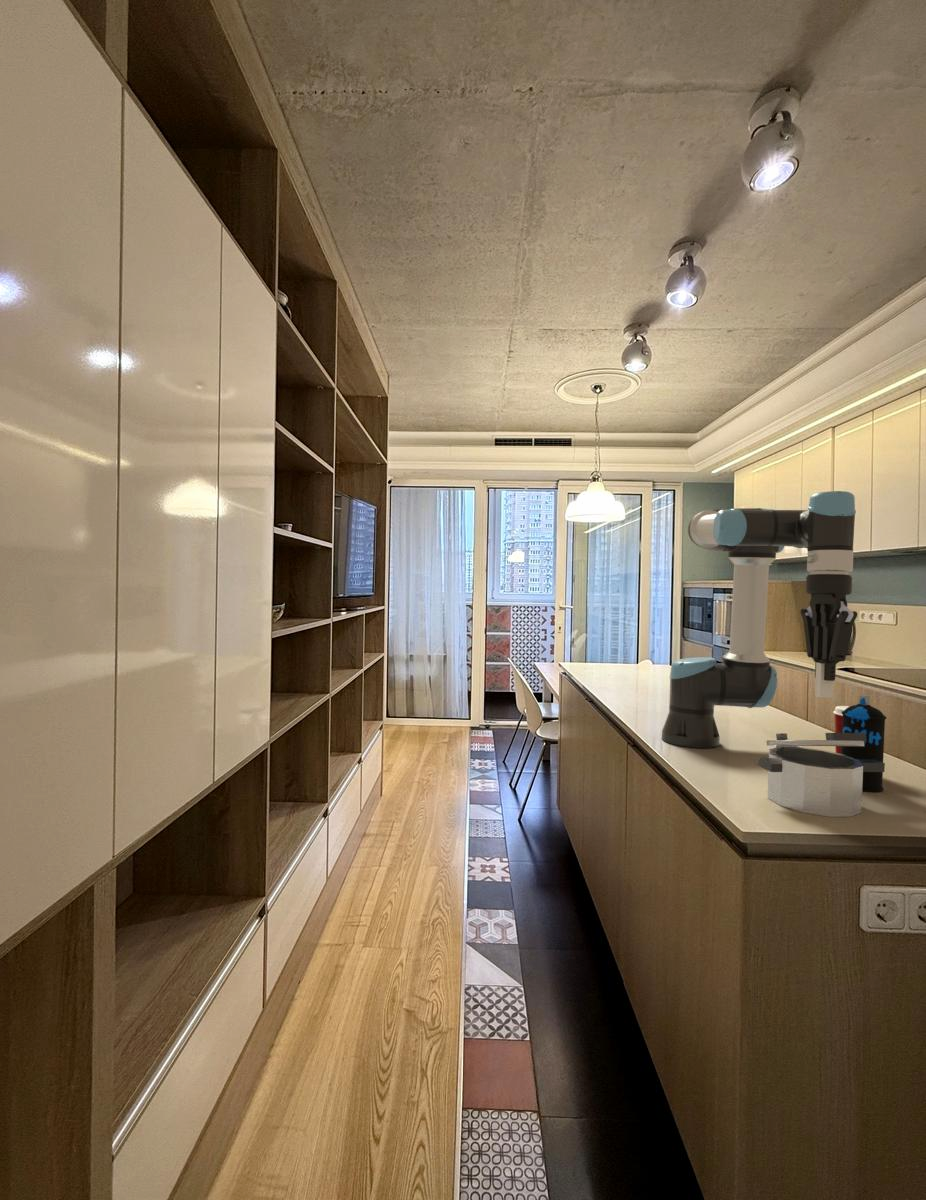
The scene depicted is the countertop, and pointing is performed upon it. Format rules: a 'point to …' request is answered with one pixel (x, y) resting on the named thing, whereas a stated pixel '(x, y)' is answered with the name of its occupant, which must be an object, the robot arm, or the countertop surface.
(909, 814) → the countertop surface
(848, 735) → the lid
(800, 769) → the pot
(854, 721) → the aerosol can
